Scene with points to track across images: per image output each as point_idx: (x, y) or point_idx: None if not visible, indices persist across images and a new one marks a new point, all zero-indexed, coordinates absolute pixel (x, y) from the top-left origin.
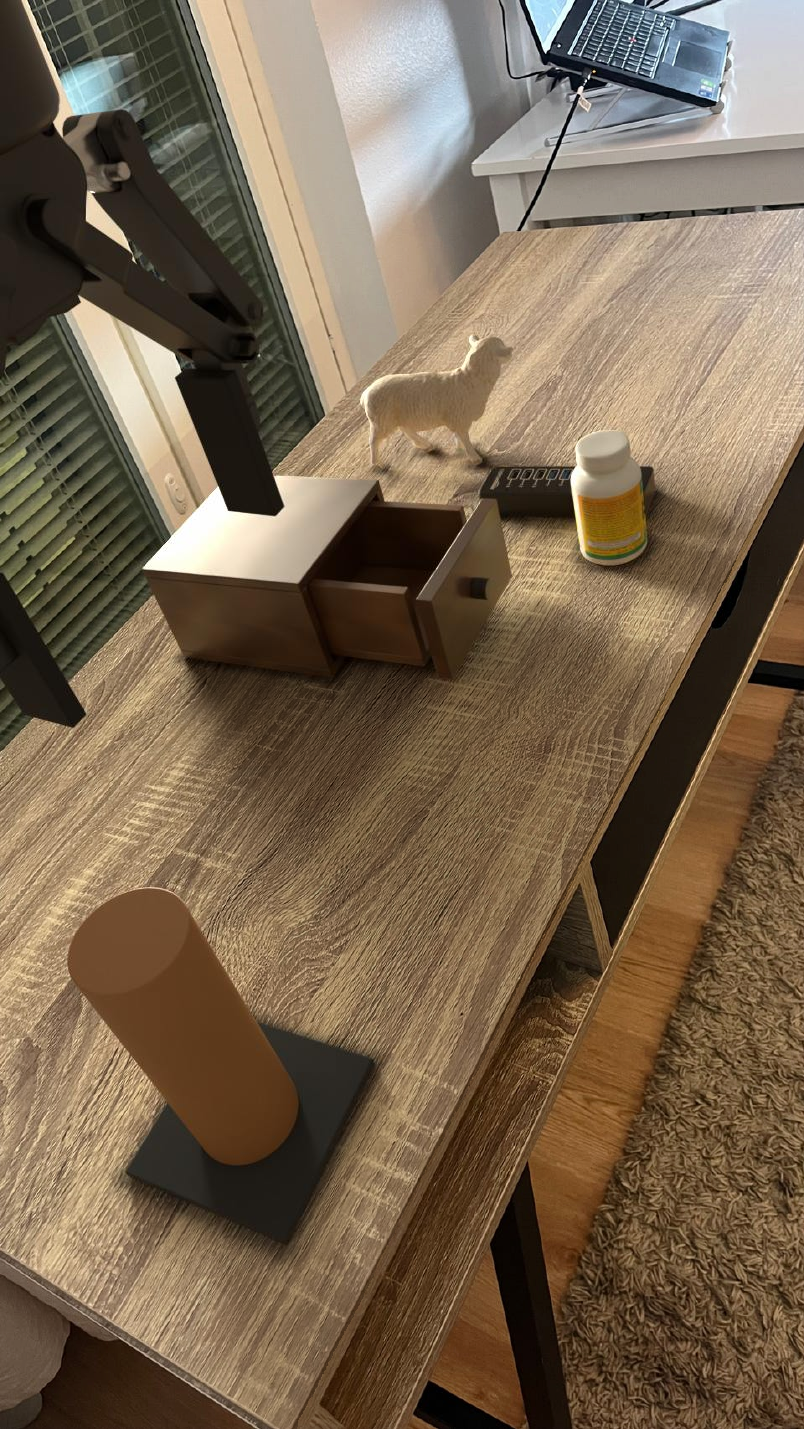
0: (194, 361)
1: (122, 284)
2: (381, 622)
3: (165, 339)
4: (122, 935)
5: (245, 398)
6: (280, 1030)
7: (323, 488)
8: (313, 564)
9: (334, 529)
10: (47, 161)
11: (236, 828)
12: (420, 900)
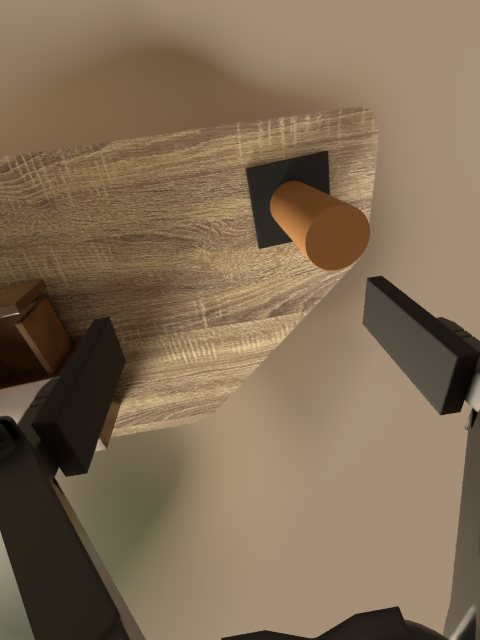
0: (54, 473)
1: (124, 636)
2: (43, 328)
3: (72, 513)
4: (336, 244)
5: (48, 396)
6: (255, 218)
7: None
8: (41, 380)
9: (10, 390)
10: None
11: (182, 312)
12: (165, 205)
